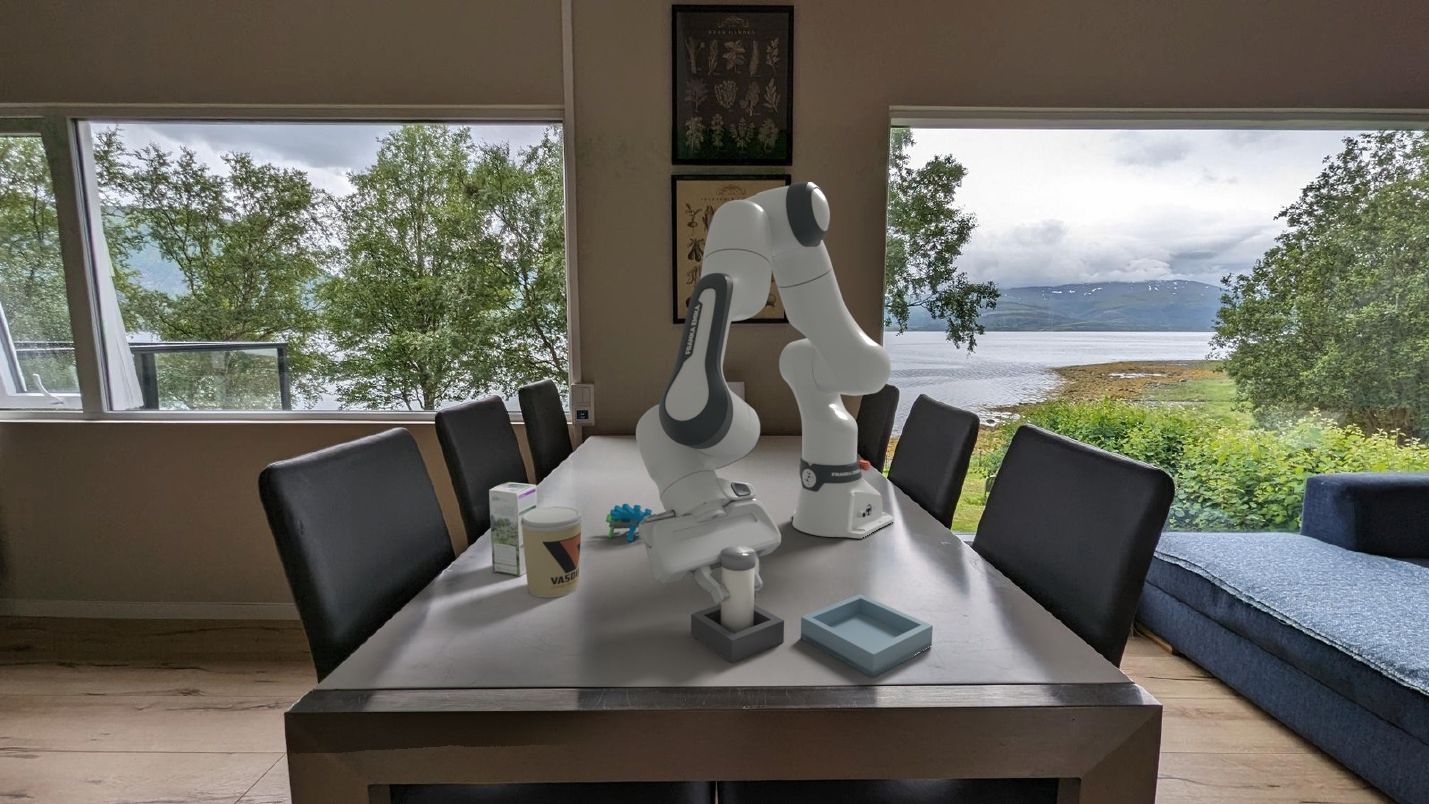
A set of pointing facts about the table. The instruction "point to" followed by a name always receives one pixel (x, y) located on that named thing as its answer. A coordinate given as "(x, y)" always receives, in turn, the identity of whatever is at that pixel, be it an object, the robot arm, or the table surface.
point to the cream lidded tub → (552, 550)
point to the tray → (866, 634)
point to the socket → (741, 643)
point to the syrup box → (509, 525)
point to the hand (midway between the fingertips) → (740, 594)
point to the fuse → (738, 588)
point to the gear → (626, 519)
